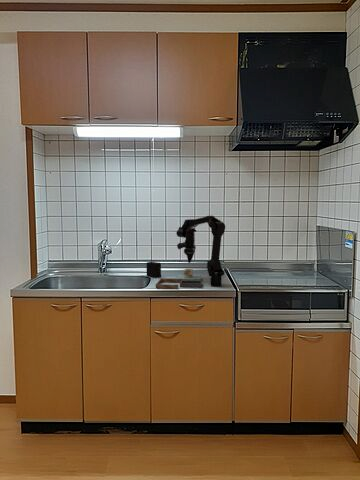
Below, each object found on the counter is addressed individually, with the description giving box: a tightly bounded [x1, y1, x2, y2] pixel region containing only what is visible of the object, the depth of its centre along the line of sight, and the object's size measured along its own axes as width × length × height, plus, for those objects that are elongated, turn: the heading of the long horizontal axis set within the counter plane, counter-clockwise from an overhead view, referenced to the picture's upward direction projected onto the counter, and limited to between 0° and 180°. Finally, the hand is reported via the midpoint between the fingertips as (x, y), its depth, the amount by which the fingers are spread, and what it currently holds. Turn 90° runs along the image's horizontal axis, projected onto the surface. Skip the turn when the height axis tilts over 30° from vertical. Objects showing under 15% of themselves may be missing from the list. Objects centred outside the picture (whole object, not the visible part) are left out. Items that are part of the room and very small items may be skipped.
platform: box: [175, 274, 202, 281], centre depth 268 cm, size 16×12×2 cm
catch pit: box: [179, 280, 203, 289], centre depth 251 cm, size 13×8×2 cm, turn 83°
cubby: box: [155, 277, 182, 290], centre depth 252 cm, size 14×18×2 cm
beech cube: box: [183, 268, 194, 278], centre depth 267 cm, size 5×5×5 cm
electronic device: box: [145, 261, 162, 279], centre depth 278 cm, size 4×10×10 cm, turn 49°
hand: (190, 261), depth 268 cm, fingers open, 9 cm apart
